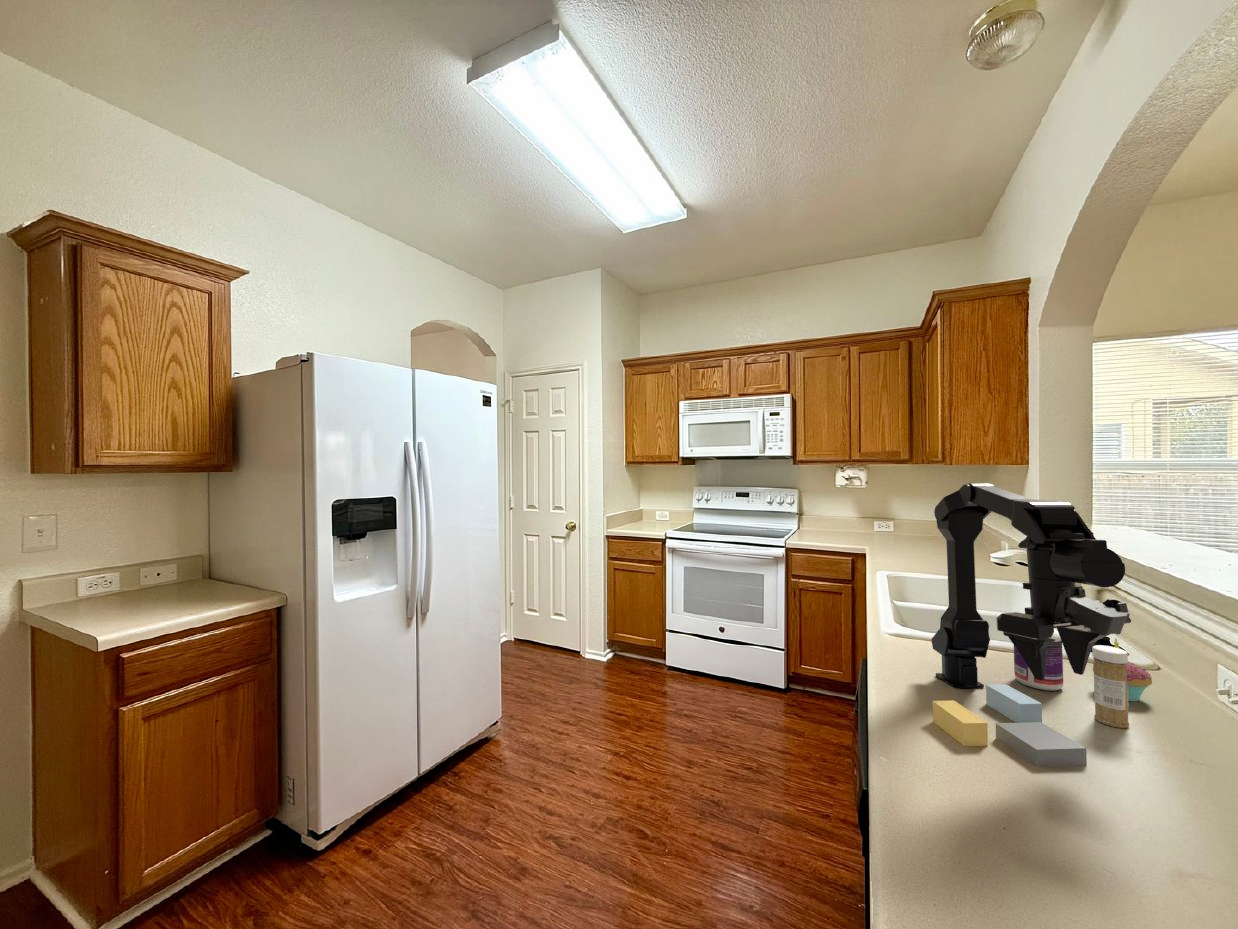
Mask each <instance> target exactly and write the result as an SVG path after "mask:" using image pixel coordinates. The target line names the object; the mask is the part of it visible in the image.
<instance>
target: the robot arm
mask: <svg viewBox="0 0 1238 929" xmlns="http://www.w3.org/2000/svg"><path fill="white" fill-rule="evenodd" d="M933 511H934V517H935V520H936V526H937V527H936V528H937V529H938V530H939V532H940V533H941V535H942V536H943V538H944V539H945V540H946V562H947V566H946V567H947V568H946V569H947V585H948V586H947V587H948V588H947V590H948V607H947V608H946V610H945V611H944V613H943V614H942V615H941V617H940V622H939V623H940V624H939V629H937V631H936V633H935V634H934V635H933V637H931V640H930V641H931V646H932V650H934V651H935V652H936V653H938V654H939V655H941V672H939V673H937V672H936V673H935V677H937V678H938V679H939V680H942V681H943V682H945V683H946V682H947V684H948V685H949V686H951V687H954V688H956V689H965V688H967V689H969V688H973V689H974V688H985V684H984V683H982V682H980V681H978V678H979V677H978V665H977V658H984V659H985V658H987V654H988V649H989V646H990V641H991V637H990V631H989V630H990V625H989V622H988V621H987V620H984V619H983V617H982V616H981V614H980V613H979V611H978V609H977V589H976V584H977V583H976V562H975V561H976V559H975V541H976V540H977V538H978V537H979V536H980V534H981V532H982V531H983V529H984V528H983V527H984V520H985V518H986V517H988V516H989V515H990V514H991V513H994V514H995V513H996V514H997V515H1000V516H1002V517H1005V518H1007V519H1008V520H1010V523H1011V524H1010V525H1011V526H1012V527H1013V528H1014V529H1015V530H1017V531H1018V532H1020V534H1022V535H1024V536H1026V537H1025V538H1024V539H1022V540H1021V541H1020V542H1019V543H1018V544H1017V547H1018V548H1019V549H1026V560H1027V561H1026V562H1027V573H1028V574H1027V575H1028V582H1022V589H1023V590H1029V596H1030V598H1029V599H1030V606H1029V607H1024V613H1022V612H1019V611H1018V612H1016V611H1015V612H1005V613H1000V614H999V615H998V616H997V617H996V631H999V632H1002V633H1003V635H1004V636H1006V637H1007V638H1008V639H1009V640H1010V641H1011V643H1012V645H1013V647H1014V646H1015V647H1016V649H1017V650H1018V651H1019V653H1020V655H1021V656H1022V658H1023V659H1024V661H1025V663H1026V664H1027V666H1028V667H1029V669H1030V671H1031V672H1032V674H1033V676H1034V677H1035V678H1036V679H1038V680H1041V681H1043V680H1044V679H1045V668H1046V648H1047V647H1048V646H1049V645H1050V644H1052V643H1053V642H1054V641H1055V639H1050V638H1051V637H1052V635H1053V633H1054V629H1057V630H1056V631H1058V633H1059V636H1060V638H1061V641H1062V647H1063V650H1064V652H1065V654H1066V658H1067V660H1068V662H1069V664H1070V666H1071V669H1072V672H1073V673H1074V674H1076V675H1080V676H1083V675H1084V673H1085V671H1086V668H1087V667H1086V666H1087V664H1088V661H1089V658H1090V654H1091V653H1092V647H1093V646H1095V643H1096V642H1097V641H1099V640H1101V639H1103V638H1105V637H1107V636H1108V637H1109V636H1110V635H1121V634H1122V631H1123V628H1124V625H1125V624H1130V623H1132V619H1131V618H1130V615H1131V614H1130V613H1129V609H1128V604H1127V602H1125V601H1123V600H1120V599H1119V598H1109V599H1106V600H1104V601H1103V602H1102V601H1101V600H1098V599H1097V600H1095V599H1093V598H1092V599H1091V598H1089V597H1086V595H1087V594H1086V590H1085V588H1083V586H1082V585H1086V586H1087V585H1088V586H1093V587H1099V588H1111V587H1114V586H1116V585H1118V584H1119V583H1120V582H1121V581H1122V580H1123V579H1124V576H1125V575H1126V574H1125V573H1126V565H1125V563H1124V562H1123V560H1122V558H1121V557H1120V555H1118V553H1116V552H1115V551H1114V550H1112V549H1110V548H1108V544H1107V543H1108V542H1107V541H1106V540H1105V539H1096V537H1095V535H1094V532H1093V531H1092V530H1091V529H1090V528H1089V527H1088V526H1087V524H1086V523H1085V521H1084V520H1083V518H1082V517H1081V515H1080V514H1079V513H1078V511H1077V510H1076V507H1075V506H1074V505H1073V504H1071V503H1070V502H1066V501H1059V500H1048V499H1047V500H1045V499H1033V498H1028V497H1026V496H1023V495H1020V494H1018V493H1014V492H1011V491H1008V490H1006V489H1002V488H1000V487H997V486H995V484H992V483H989V482H975V483H974V482H970V483H969V482H968V483H966V484H965V483H964V484H963V485H961V487H960V488H959V489H958V490H956V491H954V492H952V493H949V494H948V495H946V496H944V497H943V498H942V499H941V500H940V501H939V502H938V504H936V505H935V508H934V510H933ZM1076 584H1081V585H1076Z"/></svg>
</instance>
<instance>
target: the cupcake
mask: <svg viewBox="0 0 1238 929" xmlns="http://www.w3.org/2000/svg"><path fill="white" fill-rule="evenodd" d="M1114 640H1115V641H1114V642H1113V644H1114V646H1113V647H1115V648H1119V649H1120V643H1119V641H1117V640H1118V639H1117V638H1114ZM1126 669H1127V690H1128V702H1138V701H1140V699H1141V696H1142V694H1143V692H1144V691H1145V689H1147V688H1148V687H1149V686H1151V685H1153V681H1152V680H1153V677H1152V676H1151V674H1150V673H1149V672H1148V671H1147V670H1146V669H1144V668H1143V667H1141V666H1139V665H1138V664H1136V663H1133V662H1130V661H1128V662H1127V665H1126ZM1092 671H1093V673H1094V663H1093V664H1092Z"/></svg>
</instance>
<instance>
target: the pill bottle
mask: <svg viewBox="0 0 1238 929" xmlns="http://www.w3.org/2000/svg"><path fill="white" fill-rule="evenodd" d="M1050 639H1055V641H1054V642H1053V643H1052V644H1050V645H1049V646H1048V647H1047V648H1046V668H1045V679H1044V680H1043V681H1041V680H1038V679H1036V678H1035V677H1034V676H1033V674H1032V672H1031V671H1030V669H1029V667H1028V666H1027V664H1026V663H1025V661H1024V659H1023V658H1022V656H1021V655H1020V653H1019V651H1018V650H1017V649H1016V647H1015V646H1014V645H1013V663H1014V664H1013V666H1014V667H1013V668H1014V670H1013V671H1014V673H1013V674H1014V677H1015V679H1016V680H1017V681H1018V682H1019V683H1021V684H1022V685H1025V686H1027V687H1030V688H1032V689H1033V688H1034V689H1038V690H1043V691H1051V692H1053V691H1059V690H1061V689H1063V687H1064V667H1063V666H1064V661H1063V660H1064V659H1063V644H1062V641H1061V638H1060V636H1059V633H1058V630H1056V628H1054V633H1053V635H1052V637H1051V638H1050Z"/></svg>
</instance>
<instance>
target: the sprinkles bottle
mask: <svg viewBox="0 0 1238 929" xmlns="http://www.w3.org/2000/svg"><path fill="white" fill-rule="evenodd" d="M1091 653H1092V655H1091V656H1092V657H1093V658H1092V659H1093V664H1094V672H1093V692H1094V700H1093V701H1094V709H1095V712H1094V718H1095V720H1096V721H1098V722H1099V723H1101V724H1104V725H1106V726H1109V727H1113V728H1118V729H1124V728H1126V729H1127V728H1129V727H1130V723H1129V701H1128V690H1127V669H1126V665H1127V662H1129V659H1128V658H1129V656H1128V652H1127V651H1126V650H1124V649H1122V648H1120V647H1119V648H1115V646H1110V645H1101V644H1098V645H1093V647H1092V650H1091Z"/></svg>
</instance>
